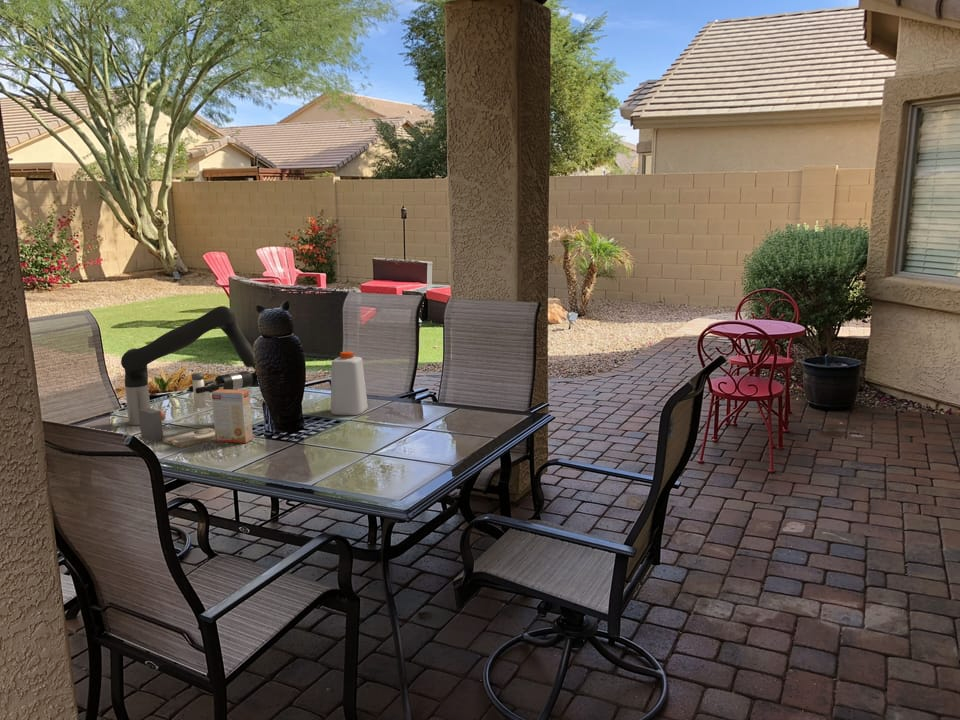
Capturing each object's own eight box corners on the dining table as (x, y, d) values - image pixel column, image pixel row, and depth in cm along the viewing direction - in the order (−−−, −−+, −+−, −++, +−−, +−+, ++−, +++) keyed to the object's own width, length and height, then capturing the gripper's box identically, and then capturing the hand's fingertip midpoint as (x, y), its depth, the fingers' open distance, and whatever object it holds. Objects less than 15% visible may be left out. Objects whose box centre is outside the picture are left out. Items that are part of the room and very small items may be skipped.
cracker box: (253, 439, 306) (250, 389, 302) (245, 444, 300) (241, 393, 297) (224, 437, 310) (219, 388, 306) (215, 441, 304) (210, 391, 300)
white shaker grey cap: (192, 407, 311) (189, 374, 308) (202, 405, 315) (199, 372, 312) (198, 409, 308) (195, 375, 306) (208, 406, 312) (205, 373, 309)
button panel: (141, 437, 311) (138, 409, 309) (151, 435, 315) (148, 407, 312) (154, 441, 305) (151, 413, 303) (164, 439, 309) (161, 411, 306)
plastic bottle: (360, 416, 340) (357, 355, 335) (328, 415, 342) (324, 355, 337) (370, 408, 355) (367, 349, 349) (339, 407, 357) (336, 349, 352)
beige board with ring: (162, 441, 305) (162, 437, 305) (206, 430, 321) (206, 426, 320) (181, 447, 297) (181, 443, 296) (225, 435, 312) (225, 432, 312)
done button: (155, 420, 312) (154, 410, 312) (159, 419, 314) (158, 409, 313) (161, 421, 310) (160, 411, 309) (165, 420, 311) (164, 410, 310)
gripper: (218, 372, 325) (182, 379, 311) (238, 375, 316) (201, 383, 303) (220, 389, 326) (183, 396, 313) (239, 393, 318) (203, 401, 304)
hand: (193, 390), depth 308 cm, fingers closed on white shaker grey cap, 4 cm apart
